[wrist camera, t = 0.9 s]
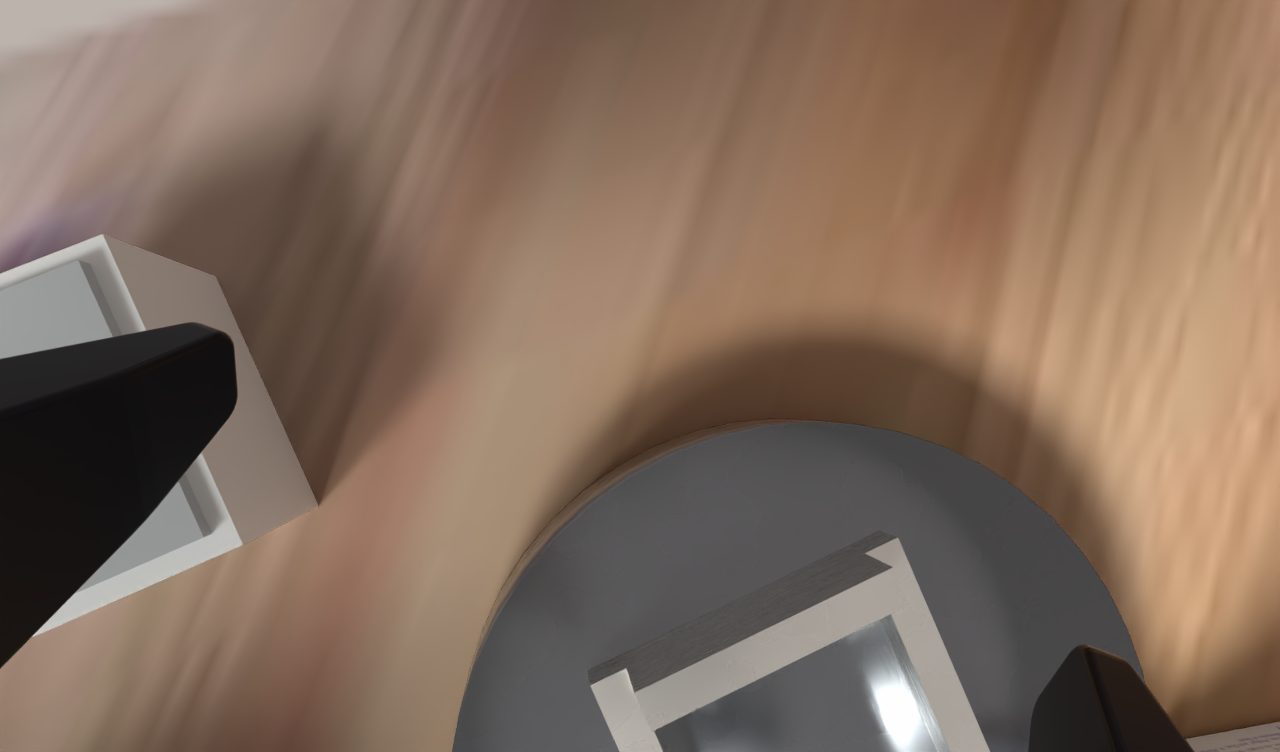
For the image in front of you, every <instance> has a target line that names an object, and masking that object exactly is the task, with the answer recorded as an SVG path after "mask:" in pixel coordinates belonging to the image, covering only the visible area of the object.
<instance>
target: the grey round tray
mask: <svg viewBox="0 0 1280 752" xmlns="http://www.w3.org/2000/svg"><path fill="white" fill-rule="evenodd" d="M1078 645H1090V646H1092V647H1095V648H1098V649H1101V650H1103V651H1106V652H1109V653H1112V654H1114V655H1117V656H1120V657H1122V658H1124V659H1125V660H1126V661H1128V662H1129V663H1130V664H1131V666H1132V667H1133V668H1134V669H1135V671H1136V672H1137V673H1138V675H1139V676H1140V678H1141V679H1142V680H1143V682H1144V683H1145V681H1144V676H1143V672H1142V669H1141V666H1140V663H1139V660H1138V658H1137V655H1136V652H1135V649H1134V646H1133V643H1132V641H1131V638H1130V635H1129V632H1128V629H1127V627H1126V625H1125V623H1124V621H1123V619H1122V617H1121V615H1120V613H1119V611H1118V609H1117V607H1116V605H1115V603H1114V601H1113V599H1112V597H1111V595H1110V593H1109V591H1108V589H1107V588H1106V586H1105V585H1104V583H1103V582H1102V580H1101V579H1100V577H1099V576H1098V574H1097V573H1096V571H1095V570H1094V568H1093V567H1092V565H1091V564H1090V562H1089V561H1088V559H1087V558H1086V556H1085V555H1084V554H1083V552H1082V551H1081V550H1080V549H1079V548H1078V546H1077V545H1076V544H1075V543H1074V542H1073V541H1072V540H1071V538H1070V537H1069V536H1068V535H1067V534H1066V533H1065V532H1064V530H1063V529H1062V528H1061V527H1060V526H1059V525H1058V524H1057V523H1056V521H1055V520H1054V519H1053V518H1052V517H1051V516H1049V515H1048V514H1047V513H1046V512H1045V511H1044V510H1043V509H1041V508H1040V507H1039V506H1038V505H1037V504H1036V503H1034V502H1033V501H1032V500H1031V499H1030V498H1029V497H1028V496H1026V495H1025V494H1024V493H1023V492H1022V491H1021V490H1019V489H1018V488H1016V487H1015V486H1013V485H1012V484H1010V483H1009V482H1007V481H1006V480H1004V479H1003V478H1001V477H1000V476H998V475H997V474H995V473H994V472H992V471H991V470H989V469H988V468H986V467H985V466H983V465H981V464H979V463H977V462H975V461H973V460H971V459H969V458H967V457H965V456H962V455H960V454H958V453H956V452H954V451H952V450H950V449H948V448H946V447H944V446H941V445H938V444H935V443H932V442H929V441H926V440H923V439H920V438H917V437H913V436H910V435H907V434H904V433H901V432H896V431H891V430H885V429H880V428H874V427H868V426H863V425H857V424H848V423H837V422H826V421H815V420H794V419H765V420H754V421H743V422H733V423H729V424H724V425H720V426H716V427H711V428H707V429H703V430H698V431H694V432H691V433H688V434H686V435H683V436H680V437H678V438H675V439H672V440H670V441H667V442H664V443H662V444H659V445H656V446H654V447H652V448H650V449H648V450H647V451H645V452H643V453H641V454H639V455H637V456H635V457H633V458H632V459H630V460H628V461H626V462H624V463H622V464H620V465H618V466H617V467H616V468H614V469H613V470H611V471H610V472H609V473H607V474H606V475H604V476H603V477H601V478H600V479H599V480H597V481H596V482H594V483H593V484H592V485H590V486H589V487H587V488H586V489H585V490H583V491H582V492H581V493H580V494H579V495H578V496H577V497H576V498H575V499H574V500H573V501H572V502H570V503H569V504H568V505H567V506H566V507H565V508H564V509H563V510H562V511H561V512H560V513H559V514H558V515H556V516H555V517H554V518H553V519H552V520H551V521H550V523H549V524H548V525H547V526H546V527H545V529H544V530H543V531H542V532H541V534H540V535H539V536H538V537H537V538H536V540H535V541H534V542H533V543H532V544H531V546H530V547H529V548H528V549H527V550H526V552H525V553H524V554H523V556H522V558H521V559H520V561H519V562H518V564H517V565H516V567H515V569H514V570H513V572H512V573H511V575H510V576H509V578H508V580H507V581H506V583H505V584H504V586H503V587H502V589H501V591H500V593H499V595H498V598H497V600H496V602H495V604H494V606H493V608H492V610H491V612H490V615H489V617H488V619H487V621H486V623H485V625H484V627H483V630H482V633H481V636H480V639H479V642H478V646H477V649H476V652H475V655H474V658H473V661H472V664H471V668H470V671H469V675H468V679H467V683H466V687H465V692H464V696H463V700H462V704H461V708H460V712H459V717H458V723H457V728H456V734H455V739H454V745H453V750H452V752H1028V745H1029V734H1030V723H1031V716H1032V711H1033V708H1034V705H1035V702H1036V700H1037V698H1038V696H1039V694H1040V693H1041V691H1042V690H1043V689H1044V687H1045V686H1046V685H1047V683H1048V682H1049V680H1050V679H1051V678H1052V676H1053V675H1054V673H1055V672H1056V671H1057V669H1058V668H1059V666H1060V665H1061V664H1062V662H1063V661H1064V660H1065V658H1066V657H1067V655H1068V654H1069V653H1070V652H1071V651H1072V650H1073V649H1074V648H1075V647H1077V646H1078Z"/></svg>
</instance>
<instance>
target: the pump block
mask: <svg viewBox="0 0 1280 752" xmlns="http://www.w3.org/2000/svg"><path fill="white" fill-rule="evenodd" d="M187 322H197V323H201V324H204V325H207V326H209V327H212V328H215V329H218V330H221V331H223V332H225V333H227V334H228V335H229V336H230V337H231V339H232V341H233V343H234V349H235V362H236V375H237V388H238V398H237V403H236V406H235V409H234V411H233V413H232V414H231V416H230V417H229V419H228V420H227V421H226V423H225V424H224V425H223V426H222V428H221V429H220V430H219V431H218V433H217V434H216V435H215V436H214V438H213V439H212V440H211V441H210V443H209V444H208V445H207V446H206V447H205V449H204V450H203V451H202V452H201V454H200V455H199V456H198V457H197V459H196V460H195V461H194V462H193V464H192V465H191V466H190V467H189V469H188V470H187V471H186V472H185V474H184V475H183V476H182V477H181V479H180V480H179V481H178V482H177V484H176V485H175V486H174V487H173V489H172V490H171V491H170V492H169V493H168V495H167V496H166V497H165V498H164V500H163V501H162V502H161V503H160V505H159V506H158V507H157V508H156V509H155V510H154V512H153V513H152V514H151V515H150V516H149V517H148V519H147V520H146V521H145V522H144V523H143V524H142V525H141V526H140V527H139V528H138V529H137V531H136V532H135V533H134V534H133V535H132V536H131V537H130V538H129V539H128V540H127V541H126V542H125V543H124V544H123V545H122V546H121V547H120V548H119V549H118V550H117V551H116V552H115V553H114V554H113V555H112V556H111V557H110V558H109V559H108V560H107V561H106V562H105V563H104V564H103V565H102V566H101V567H100V568H99V569H98V570H97V571H96V572H95V573H94V574H93V575H92V576H91V577H90V578H89V579H88V580H87V582H86V583H85V584H84V585H83V586H82V587H81V588H80V589H79V590H78V591H77V592H76V593H75V594H74V595H73V596H72V597H71V598H70V599H69V600H68V601H67V602H66V603H65V604H64V605H63V606H62V607H61V608H60V609H59V610H58V611H57V612H56V613H55V614H54V615H53V616H52V617H51V618H50V619H49V620H48V621H47V622H46V623H45V624H44V625H43V626H42V627H41V628H40V629H39V630H38V631H37V632H36V633H35V634H34V635H33V636H32V637H34V636H37V635H39V634H41V633H44V632H46V631H48V630H50V629H53V628H55V627H57V626H60V625H62V624H64V623H66V622H69V621H71V620H73V619H75V618H78V617H80V616H82V615H85V614H87V613H89V612H91V611H94V610H96V609H98V608H101V607H103V606H105V605H107V604H110V603H112V602H114V601H116V600H119V599H121V598H123V597H126V596H128V595H130V594H132V593H135V592H137V591H139V590H141V589H144V588H146V587H148V586H151V585H153V584H155V583H157V582H160V581H162V580H164V579H167V578H169V577H171V576H173V575H176V574H178V573H180V572H182V571H185V570H187V569H189V568H192V567H194V566H196V565H198V564H201V563H203V562H205V561H208V560H210V559H212V558H214V557H217V556H219V555H221V554H223V553H226V552H228V551H230V550H233V549H235V548H237V547H239V546H242V545H244V544H246V543H248V542H250V541H252V540H254V539H256V538H258V537H260V536H261V535H263V534H265V533H267V532H269V531H271V530H273V529H275V528H277V527H279V526H281V525H283V524H285V523H287V522H289V521H291V520H293V519H295V518H297V517H299V516H301V515H303V514H305V513H307V512H309V511H311V510H312V509H314V508H316V507H318V506H319V505H318V503H317V501H316V499H315V497H314V494H313V492H312V490H311V488H310V485H309V483H308V481H307V479H306V476H305V474H304V472H303V470H302V468H301V465H300V463H299V461H298V459H297V456H296V454H295V452H294V450H293V448H292V445H291V443H290V441H289V439H288V436H287V434H286V432H285V430H284V427H283V425H282V423H281V421H280V419H279V416H278V414H277V412H276V410H275V407H274V405H273V403H272V401H271V399H270V396H269V394H268V392H267V390H266V387H265V385H264V383H263V381H262V379H261V376H260V374H259V372H258V370H257V367H256V365H255V363H254V361H253V358H252V356H251V354H250V352H249V350H248V347H247V345H246V343H245V341H244V338H243V336H242V334H241V332H240V330H239V327H238V325H237V323H236V321H235V318H234V316H233V314H232V312H231V309H230V307H229V305H228V303H227V301H226V298H225V296H224V294H223V292H222V289H221V287H220V285H219V283H218V281H217V278H216V276H213V275H211V274H208V273H205V272H203V271H200V270H197V269H195V268H192V267H189V266H187V265H184V264H181V263H179V262H176V261H173V260H171V259H168V258H165V257H163V256H160V255H157V254H155V253H152V252H149V251H147V250H144V249H141V248H139V247H136V246H133V245H131V244H128V243H125V242H123V241H120V240H117V239H115V238H112V237H109V236H107V235H104V234H101V235H99V236H96V237H94V238H91V239H88V240H86V241H83V242H81V243H78V244H76V245H73V246H70V247H68V248H65V249H63V250H60V251H58V252H55V253H52V254H50V255H47V256H45V257H42V258H40V259H37V260H34V261H32V262H29V263H27V264H24V265H22V266H19V267H16V268H14V269H11V270H9V271H6V272H4V273H1V274H0V359H2V358H7V357H12V356H17V355H22V354H27V353H33V352H38V351H43V350H48V349H53V348H58V347H63V346H69V345H74V344H79V343H84V342H89V341H94V340H100V339H105V338H110V337H115V336H120V335H125V334H131V333H136V332H141V331H146V330H151V329H156V328H162V327H167V326H172V325H177V324H182V323H187ZM32 637H31V638H32Z"/></svg>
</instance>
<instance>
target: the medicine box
mask: <svg viewBox="0 0 1280 752" xmlns="http://www.w3.org/2000/svg"><path fill="white" fill-rule="evenodd" d="M1186 740H1187V742H1188V743H1189V744H1190V746H1191V747H1192V749H1193V750H1194V751H1195V752H1280V722H1274V723H1269V724H1263V725H1258V726H1253V727H1248V728H1244V729H1236V730H1231V731H1226V732H1221V733H1216V734H1210V735H1204V736H1199V737H1194V738H1188V739H1186Z"/></svg>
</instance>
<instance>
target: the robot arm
mask: <svg viewBox="0 0 1280 752" xmlns="http://www.w3.org/2000/svg"><path fill="white" fill-rule="evenodd" d="M237 398H238V388H237V375H236V362H235V349H234V343H233V341H232V339H231V337H230V336H229V335H228V334H227V333H225V332H223V331H221V330H218V329H215V328H212V327H209V326H207V325H204V324H201V323H197V322H187V323H182V324H177V325H172V326H167V327H162V328H156V329H151V330H146V331H141V332H136V333H131V334H125V335H120V336H115V337H110V338H105V339H100V340H94V341H89V342H84V343H79V344H74V345H69V346H63V347H58V348H53V349H48V350H43V351H38V352H33V353H27V354H22V355H17V356H12V357H7V358H2V359H0V669H1V667H2V666H3V665H4V664H5V663H6V662H7V661H8V660H9V659H10V658H11V657H12V656H13V655H14V654H15V653H16V652H17V651H18V650H19V649H20V648H21V647H22V646H23V645H24V644H25V643H26V642H27V641H28V640H29V639H30V638H31V637H32V636H33V635H34V634H35V633H36V632H37V631H38V630H39V629H40V628H41V627H42V626H43V625H44V624H45V623H46V622H47V621H48V620H49V619H50V618H51V617H52V616H53V615H54V614H55V613H56V612H57V611H58V610H59V609H60V608H61V607H62V606H63V605H64V604H65V603H66V602H67V601H68V600H69V599H70V598H71V597H72V596H73V595H74V594H75V593H76V592H77V591H78V590H79V589H80V588H81V587H82V586H83V585H84V584H85V583H86V582H87V580H88V579H89V578H90V577H91V576H92V575H93V574H94V573H95V572H96V571H97V570H98V569H99V568H100V567H101V566H102V565H103V564H104V563H105V562H106V561H107V560H108V559H109V558H110V557H111V556H112V555H113V554H114V553H115V552H116V551H117V550H118V549H119V548H120V547H121V546H122V545H123V544H124V543H125V542H126V541H127V540H128V539H129V538H130V537H131V536H132V535H133V534H134V533H135V532H136V531H137V529H138V528H139V527H140V526H141V525H142V524H143V523H144V522H145V521H146V520H147V519H148V517H149V516H150V515H151V514H152V513H153V512H154V510H155V509H156V508H157V507H158V506H159V505H160V503H161V502H162V501H163V500H164V498H165V497H166V496H167V495H168V493H169V492H170V491H171V490H172V489H173V487H174V486H175V485H176V484H177V482H178V481H179V480H180V479H181V477H182V476H183V475H184V474H185V472H186V471H187V470H188V469H189V467H190V466H191V465H192V464H193V462H194V461H195V460H196V459H197V457H198V456H199V455H200V454H201V452H202V451H203V450H204V449H205V447H206V446H207V445H208V444H209V443H210V441H211V440H212V439H213V438H214V436H215V435H216V434H217V433H218V431H219V430H220V429H221V428H222V426H223V425H224V424H225V423H226V421H227V420H228V419H229V417H230V416H231V414H232V413H233V411H234V409H235V406H236V403H237ZM1028 752H1195V751H1194V750H1193V749H1192V747H1191V746H1190V744H1189V743H1188V742H1187V740H1186V739H1185V738H1184V736H1183V735H1182V733H1181V732H1180V731H1179V729H1178V728H1177V727H1176V725H1175V724H1174V723H1173V721H1172V720H1171V718H1170V717H1169V716H1168V714H1167V713H1166V712H1165V710H1164V709H1163V708H1162V706H1161V705H1160V703H1159V702H1158V701H1157V699H1156V698H1155V697H1154V695H1153V694H1152V693H1151V691H1150V690H1149V688H1148V687H1147V686H1146V684H1145V683H1144V682H1143V680H1142V679H1141V678H1140V676H1139V675H1138V673H1137V672H1136V671H1135V669H1134V668H1133V667H1132V666H1131V664H1130V663H1129V662H1128V661H1126V660H1125V659H1124V658H1122V657H1120V656H1117V655H1114V654H1112V653H1109V652H1106V651H1103V650H1101V649H1098V648H1095V647H1092V646H1090V645H1078V646H1077V647H1075V648H1074V649H1073V650H1072V651H1071V652H1070V653H1069V654H1068V655H1067V657H1066V658H1065V660H1064V661H1063V662H1062V664H1061V665H1060V666H1059V668H1058V669H1057V671H1056V672H1055V673H1054V675H1053V676H1052V678H1051V679H1050V680H1049V682H1048V683H1047V685H1046V686H1045V687H1044V689H1043V690H1042V691H1041V693H1040V694H1039V696H1038V698H1037V700H1036V702H1035V705H1034V708H1033V711H1032V716H1031V723H1030V734H1029V745H1028Z"/></svg>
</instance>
